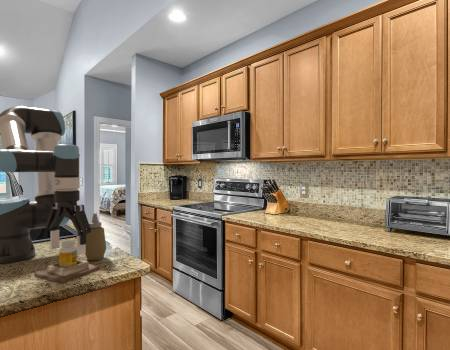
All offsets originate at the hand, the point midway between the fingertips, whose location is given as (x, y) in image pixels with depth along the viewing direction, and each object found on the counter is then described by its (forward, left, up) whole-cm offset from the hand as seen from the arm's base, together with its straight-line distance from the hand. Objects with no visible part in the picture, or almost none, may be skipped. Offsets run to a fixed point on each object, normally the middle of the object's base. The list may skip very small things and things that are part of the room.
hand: (67, 251), depth 97 cm
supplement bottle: (0, 0, -6) cm, 6 cm away
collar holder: (0, 0, -7) cm, 7 cm away
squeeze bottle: (-4, +14, -8) cm, 17 cm away
